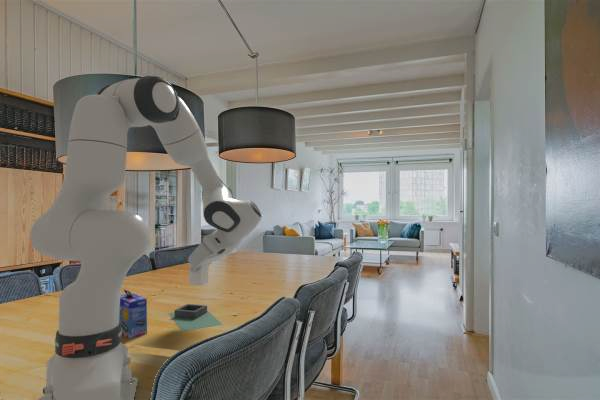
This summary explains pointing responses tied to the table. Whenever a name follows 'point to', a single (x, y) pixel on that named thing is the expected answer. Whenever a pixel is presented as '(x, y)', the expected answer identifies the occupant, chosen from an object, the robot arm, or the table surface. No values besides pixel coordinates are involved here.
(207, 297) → the table surface
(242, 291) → the table surface
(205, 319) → the board
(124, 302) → the ink cartridge box
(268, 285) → the table surface
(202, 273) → the plug
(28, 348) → the table surface
